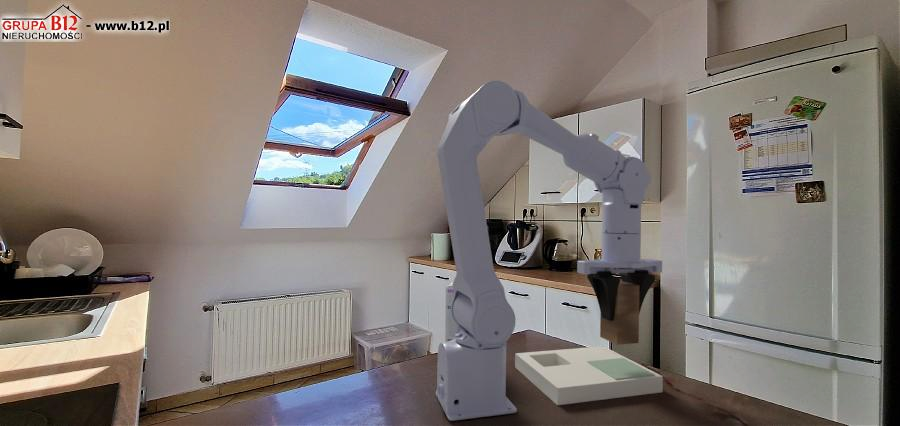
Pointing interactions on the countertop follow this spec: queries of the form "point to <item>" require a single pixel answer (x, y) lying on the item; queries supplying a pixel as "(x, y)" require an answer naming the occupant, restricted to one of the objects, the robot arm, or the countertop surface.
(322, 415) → the countertop surface
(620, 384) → the board
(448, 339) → the syrup box
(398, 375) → the countertop surface
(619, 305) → the walnut block
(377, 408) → the countertop surface
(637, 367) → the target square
